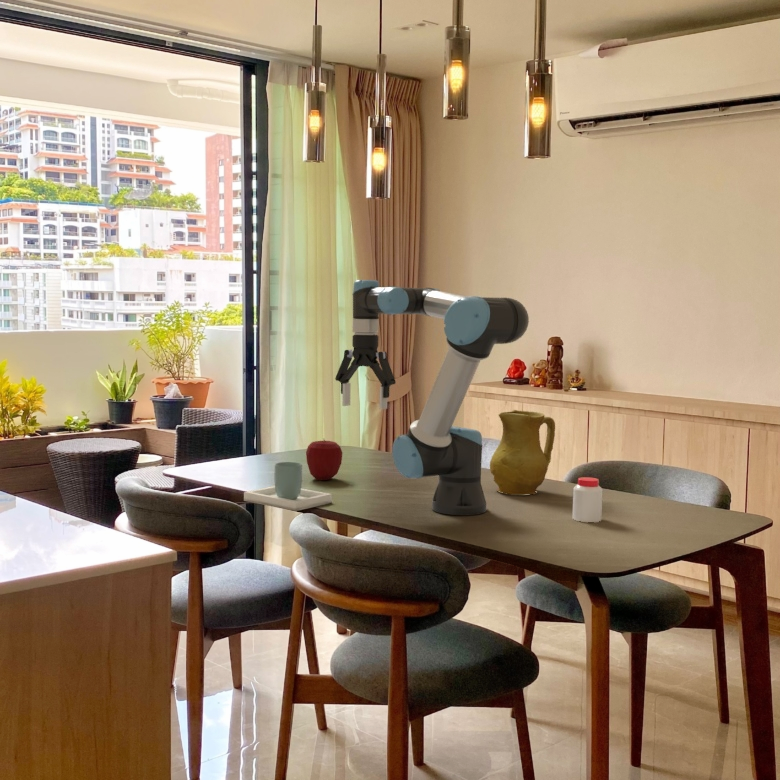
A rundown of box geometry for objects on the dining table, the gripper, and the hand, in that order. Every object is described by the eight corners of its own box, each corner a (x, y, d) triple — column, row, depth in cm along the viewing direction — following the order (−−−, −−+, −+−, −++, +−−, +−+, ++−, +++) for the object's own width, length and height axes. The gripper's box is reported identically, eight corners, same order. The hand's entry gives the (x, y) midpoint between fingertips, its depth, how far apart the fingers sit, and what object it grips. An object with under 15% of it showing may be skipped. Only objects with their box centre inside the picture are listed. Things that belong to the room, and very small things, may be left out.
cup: (297, 502, 274) (297, 467, 273) (270, 500, 276) (270, 465, 275) (305, 497, 282) (305, 462, 281) (279, 495, 283) (279, 461, 282)
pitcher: (490, 483, 310) (497, 405, 307) (550, 490, 306) (557, 411, 303) (484, 495, 293) (491, 413, 290) (547, 502, 290) (554, 419, 286)
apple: (333, 484, 306) (334, 441, 305) (299, 481, 310) (299, 439, 308) (347, 477, 317) (348, 436, 316) (314, 475, 321) (314, 434, 320)
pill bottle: (595, 524, 259) (597, 482, 258) (567, 519, 263) (569, 479, 262) (605, 518, 266) (607, 478, 264) (578, 514, 270) (580, 475, 269)
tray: (331, 502, 278) (331, 494, 278) (295, 511, 267) (295, 502, 266) (280, 493, 291) (280, 484, 290) (243, 500, 279) (244, 492, 278)
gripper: (408, 335, 278) (407, 409, 280) (340, 332, 292) (339, 403, 294) (392, 335, 272) (391, 411, 274) (324, 332, 286) (323, 405, 288)
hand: (364, 407), depth 284 cm, fingers open, 13 cm apart
